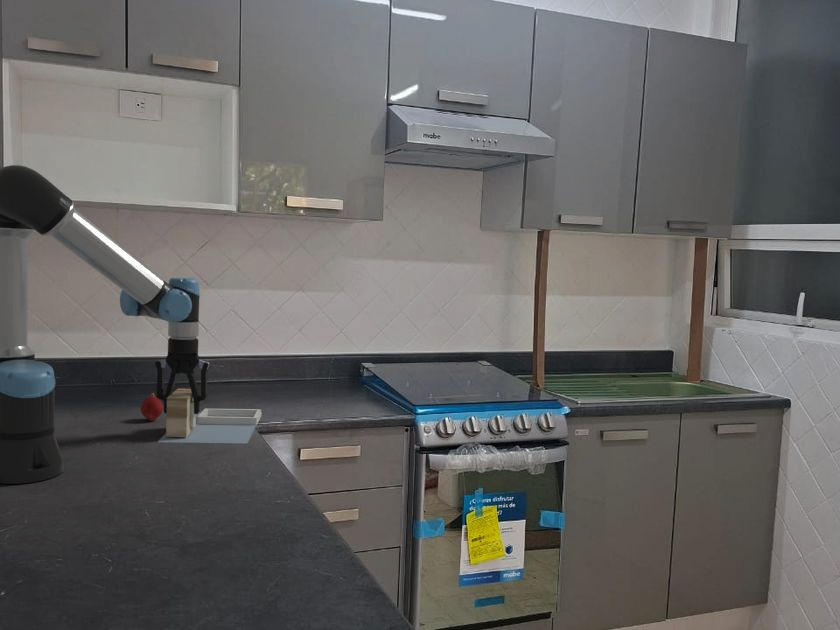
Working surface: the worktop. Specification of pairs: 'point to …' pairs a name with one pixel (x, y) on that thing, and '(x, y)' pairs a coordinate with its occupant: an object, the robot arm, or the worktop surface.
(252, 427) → the mat
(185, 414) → the block
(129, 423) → the worktop surface
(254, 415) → the frame
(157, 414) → the onion
